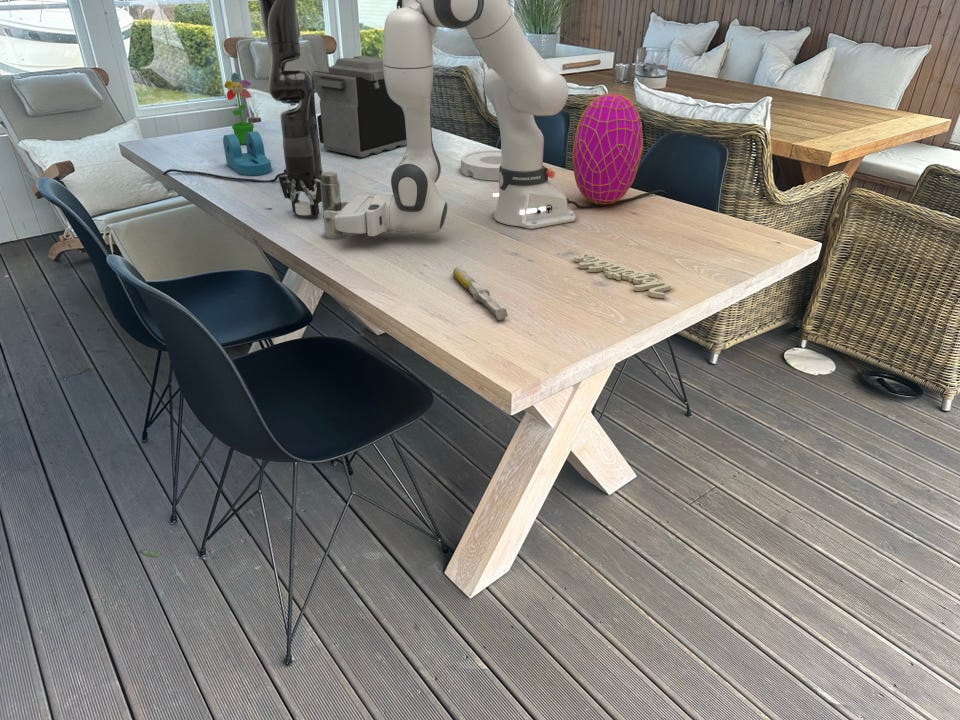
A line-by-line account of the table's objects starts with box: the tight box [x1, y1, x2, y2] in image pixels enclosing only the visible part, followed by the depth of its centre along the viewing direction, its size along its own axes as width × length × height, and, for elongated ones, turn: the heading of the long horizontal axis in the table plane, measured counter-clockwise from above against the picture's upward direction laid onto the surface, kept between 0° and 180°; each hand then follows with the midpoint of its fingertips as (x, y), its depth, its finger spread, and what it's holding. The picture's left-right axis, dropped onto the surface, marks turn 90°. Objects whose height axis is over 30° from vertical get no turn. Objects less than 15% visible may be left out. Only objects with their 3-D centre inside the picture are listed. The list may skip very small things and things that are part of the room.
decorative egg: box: [571, 92, 644, 205], centre depth 194 cm, size 19×19×30 cm
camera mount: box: [222, 131, 272, 176], centre depth 226 cm, size 18×10×10 cm, turn 35°
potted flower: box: [223, 72, 255, 145], centre depth 254 cm, size 9×8×25 cm
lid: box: [295, 200, 311, 216], centre depth 187 cm, size 5×5×2 cm
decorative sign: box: [574, 252, 671, 299], centre depth 155 cm, size 26×1×10 cm
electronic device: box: [310, 55, 407, 159], centre depth 250 cm, size 37×22×30 cm, turn 144°
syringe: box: [452, 266, 509, 321], centre depth 145 cm, size 25×4×3 cm, turn 21°
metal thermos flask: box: [320, 171, 345, 240], centre depth 172 cm, size 5×5×16 cm
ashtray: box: [460, 149, 501, 182], centre depth 229 cm, size 23×23×4 cm
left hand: (306, 215), depth 188 cm, fingers closed on lid, 5 cm apart
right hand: (328, 209), depth 172 cm, fingers closed on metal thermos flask, 5 cm apart
